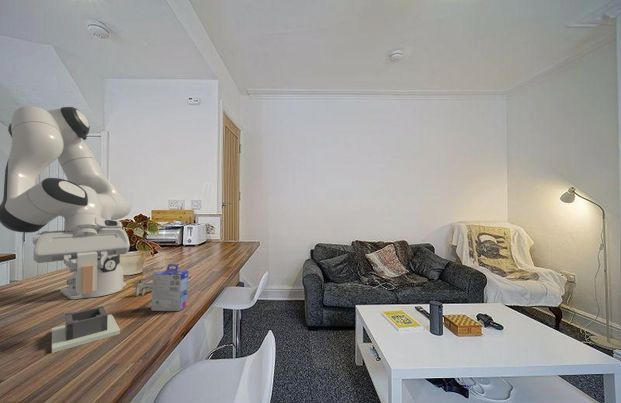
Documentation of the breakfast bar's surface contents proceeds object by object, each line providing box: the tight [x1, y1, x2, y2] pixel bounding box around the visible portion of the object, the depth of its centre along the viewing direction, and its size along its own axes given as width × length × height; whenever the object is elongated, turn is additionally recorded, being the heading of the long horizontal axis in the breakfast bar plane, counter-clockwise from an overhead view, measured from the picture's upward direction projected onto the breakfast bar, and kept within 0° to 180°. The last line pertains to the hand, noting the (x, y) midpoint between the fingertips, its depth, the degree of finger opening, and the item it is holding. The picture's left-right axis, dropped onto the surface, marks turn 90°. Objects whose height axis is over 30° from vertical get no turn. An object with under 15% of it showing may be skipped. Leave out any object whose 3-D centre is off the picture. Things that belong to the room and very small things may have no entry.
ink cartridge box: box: [150, 263, 189, 312], centre depth 86 cm, size 10×6×14 cm, turn 89°
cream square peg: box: [76, 252, 98, 294], centre depth 69 cm, size 5×4×10 cm
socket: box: [51, 305, 121, 354], centre depth 69 cm, size 14×13×5 cm
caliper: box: [134, 279, 153, 298], centre depth 105 cm, size 20×1×6 cm, turn 146°
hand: (87, 268), depth 69 cm, fingers closed on cream square peg, 4 cm apart
